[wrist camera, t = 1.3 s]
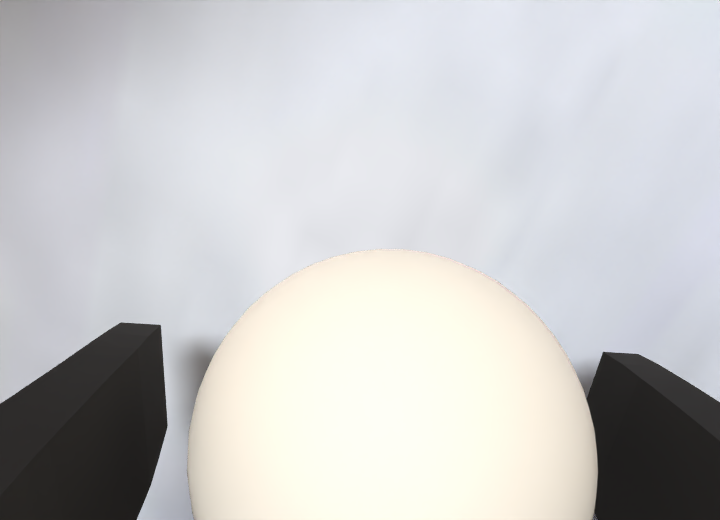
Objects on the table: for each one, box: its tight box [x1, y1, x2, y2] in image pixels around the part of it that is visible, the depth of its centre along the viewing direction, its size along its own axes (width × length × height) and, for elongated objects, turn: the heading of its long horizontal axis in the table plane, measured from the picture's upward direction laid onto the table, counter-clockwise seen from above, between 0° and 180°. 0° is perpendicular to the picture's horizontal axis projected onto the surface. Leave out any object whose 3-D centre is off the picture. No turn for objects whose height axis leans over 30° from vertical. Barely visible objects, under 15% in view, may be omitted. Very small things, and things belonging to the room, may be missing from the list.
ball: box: [187, 249, 598, 520], centre depth 8 cm, size 6×6×6 cm
